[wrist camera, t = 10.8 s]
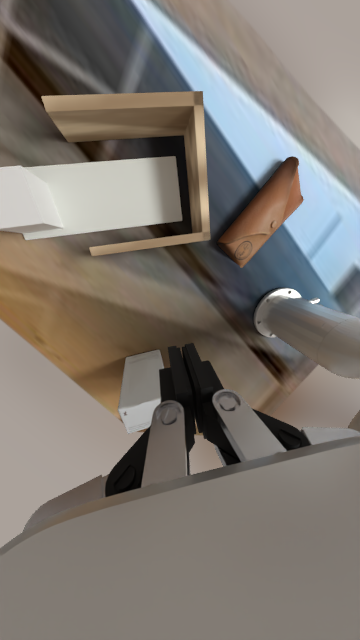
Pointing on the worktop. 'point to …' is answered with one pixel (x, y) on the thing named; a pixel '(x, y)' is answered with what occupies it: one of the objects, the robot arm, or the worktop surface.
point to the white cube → (26, 202)
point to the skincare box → (140, 390)
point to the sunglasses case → (263, 213)
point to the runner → (111, 194)
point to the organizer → (141, 122)
